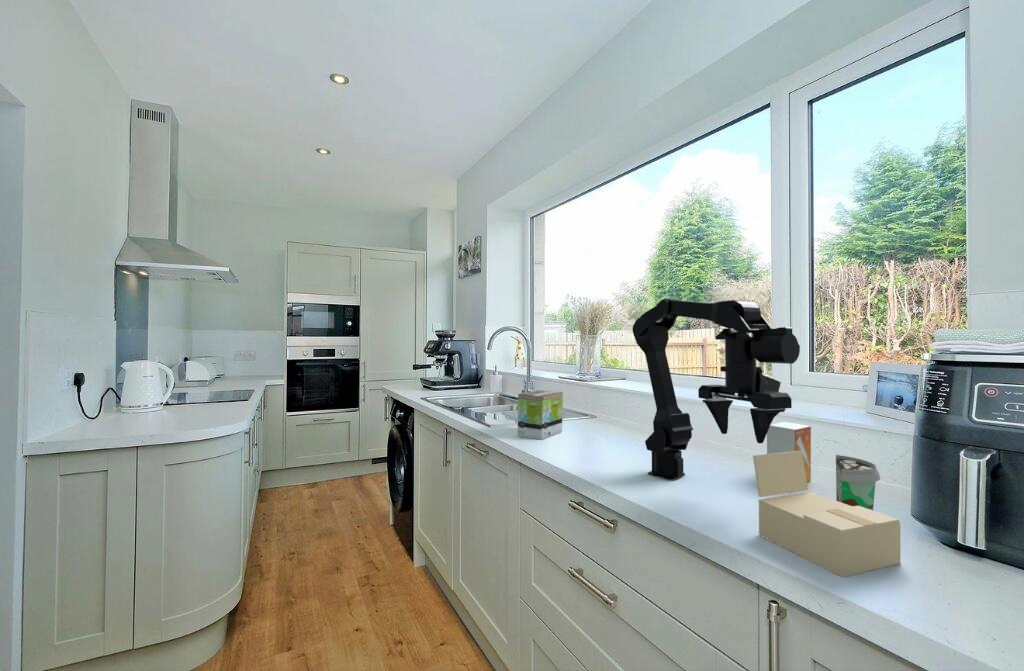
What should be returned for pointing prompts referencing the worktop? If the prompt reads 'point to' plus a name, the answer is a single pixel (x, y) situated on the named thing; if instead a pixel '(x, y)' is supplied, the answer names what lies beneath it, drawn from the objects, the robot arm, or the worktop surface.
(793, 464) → the lid flap
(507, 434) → the worktop surface
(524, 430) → the tea box
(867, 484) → the food container
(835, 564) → the carton
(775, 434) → the small box
